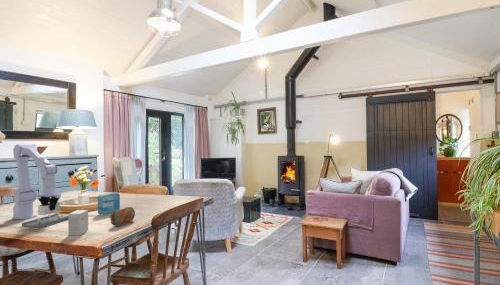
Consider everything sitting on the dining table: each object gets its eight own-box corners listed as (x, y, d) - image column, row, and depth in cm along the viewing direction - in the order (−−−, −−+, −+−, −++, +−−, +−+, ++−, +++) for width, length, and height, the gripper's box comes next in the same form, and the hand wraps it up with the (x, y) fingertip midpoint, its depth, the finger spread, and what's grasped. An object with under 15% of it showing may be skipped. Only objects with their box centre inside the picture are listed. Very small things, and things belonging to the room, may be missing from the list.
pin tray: (21, 226, 146) (21, 220, 146) (56, 216, 166) (56, 211, 166) (40, 228, 143) (40, 222, 143) (73, 217, 162) (73, 212, 162)
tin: (114, 228, 142) (113, 212, 142) (109, 227, 143) (109, 211, 143) (135, 220, 156) (135, 205, 156) (131, 219, 157) (130, 205, 157)
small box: (77, 230, 138) (76, 209, 138) (88, 230, 139) (88, 209, 139) (67, 235, 130) (67, 214, 130) (80, 235, 131) (79, 213, 131)
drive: (38, 214, 150) (38, 205, 150) (53, 210, 159) (53, 202, 159) (44, 215, 149) (44, 205, 149) (59, 211, 158) (59, 202, 158)
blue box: (101, 215, 167) (101, 196, 167) (97, 214, 169) (97, 195, 169) (120, 211, 177) (119, 193, 177) (116, 210, 179) (116, 192, 179)
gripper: (31, 186, 152) (32, 211, 152) (52, 187, 149) (52, 212, 149) (44, 184, 159) (44, 208, 159) (64, 185, 155) (64, 209, 155)
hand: (49, 210), depth 154 cm, fingers closed on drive, 4 cm apart
